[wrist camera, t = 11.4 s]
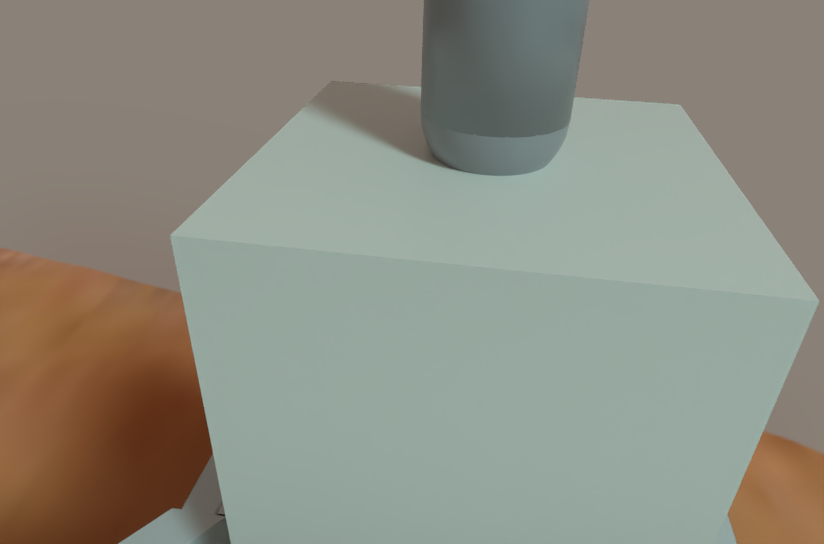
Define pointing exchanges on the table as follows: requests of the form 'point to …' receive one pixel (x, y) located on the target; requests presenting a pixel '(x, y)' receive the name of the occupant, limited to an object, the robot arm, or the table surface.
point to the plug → (486, 307)
